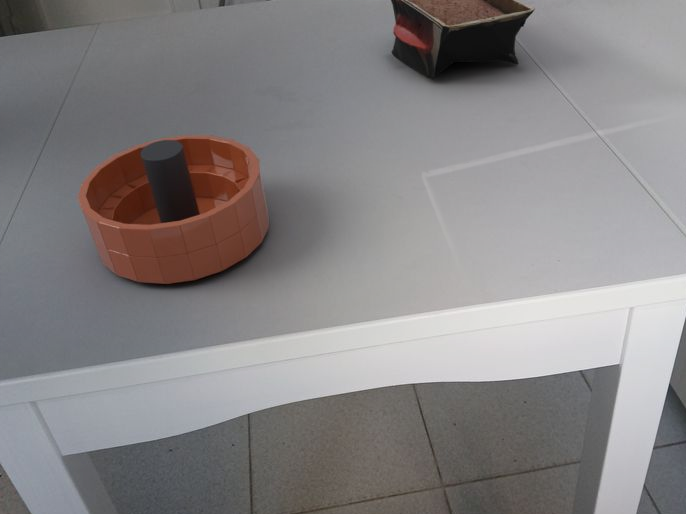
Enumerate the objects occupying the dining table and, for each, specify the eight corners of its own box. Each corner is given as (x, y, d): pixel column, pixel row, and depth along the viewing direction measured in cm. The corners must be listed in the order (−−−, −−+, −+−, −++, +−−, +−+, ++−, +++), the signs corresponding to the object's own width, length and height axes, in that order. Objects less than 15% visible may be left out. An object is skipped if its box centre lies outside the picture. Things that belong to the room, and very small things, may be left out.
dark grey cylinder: (163, 244, 64) (138, 162, 59) (165, 222, 67) (142, 142, 61) (202, 238, 64) (181, 157, 59) (203, 217, 67) (183, 137, 62)
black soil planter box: (480, 42, 98) (473, -40, 93) (547, 68, 84) (544, -26, 78) (382, 71, 97) (368, -10, 91) (432, 103, 82) (420, 10, 76)
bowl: (89, 300, 60) (64, 240, 56) (111, 203, 71) (92, 147, 67) (273, 275, 61) (262, 214, 57) (266, 182, 72) (256, 125, 68)
